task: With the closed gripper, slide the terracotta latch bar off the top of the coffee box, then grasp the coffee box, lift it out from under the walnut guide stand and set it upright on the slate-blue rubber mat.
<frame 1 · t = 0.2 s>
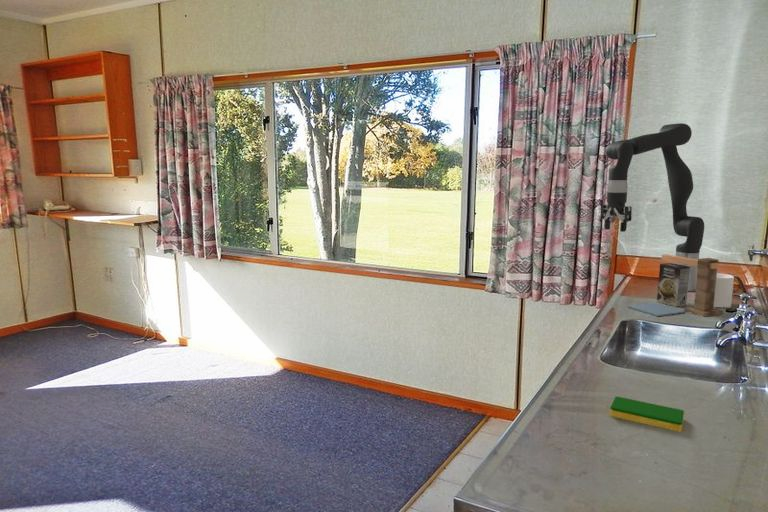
hand: (614, 230, 215), 29 cm above the counter, tool pointing down, fingers open, 8 cm apart
rubber mat: (655, 310, 201), on the counter
coffee box: (671, 304, 210), on the counter
cup: (713, 304, 209), on the counter
guide stand: (671, 303, 210), on the counter
latch bar: (688, 261, 202), point 18 cm above the counter, slide at 0.0 cm
dish sponge: (646, 419, 114), on the counter
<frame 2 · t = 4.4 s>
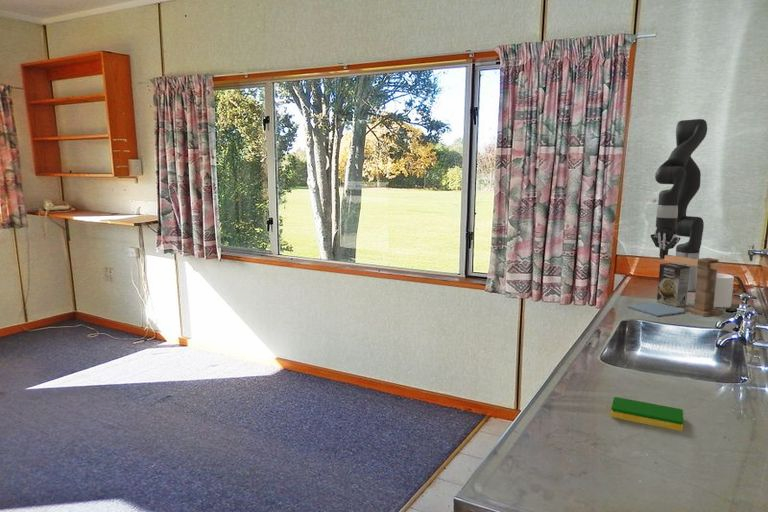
hand: (663, 258, 212), 18 cm above the counter, tool pointing down, fingers closed
latch bar: (691, 261, 200), point 18 cm above the counter, slide at 1.3 cm, touching gripper
everything else where it was.
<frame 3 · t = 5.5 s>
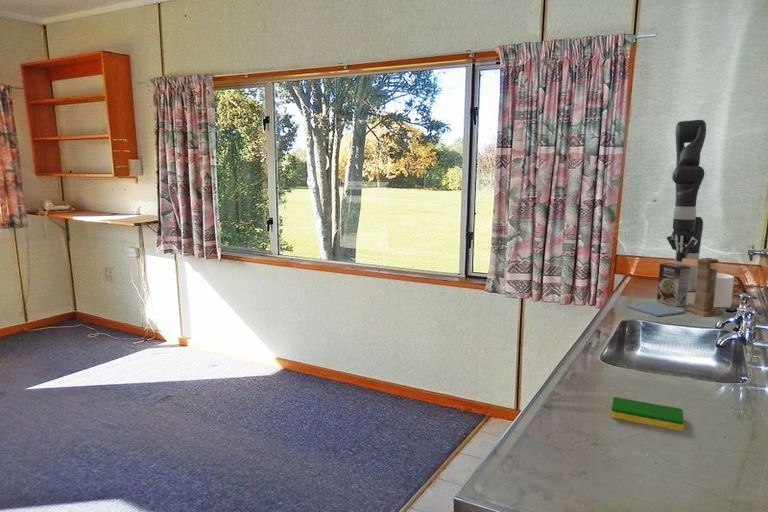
hand: (680, 261, 205), 18 cm above the counter, tool pointing down, fingers closed
latch bar: (710, 265, 193), point 19 cm above the counter, slide at 9.3 cm, touching gripper
everything else where it was.
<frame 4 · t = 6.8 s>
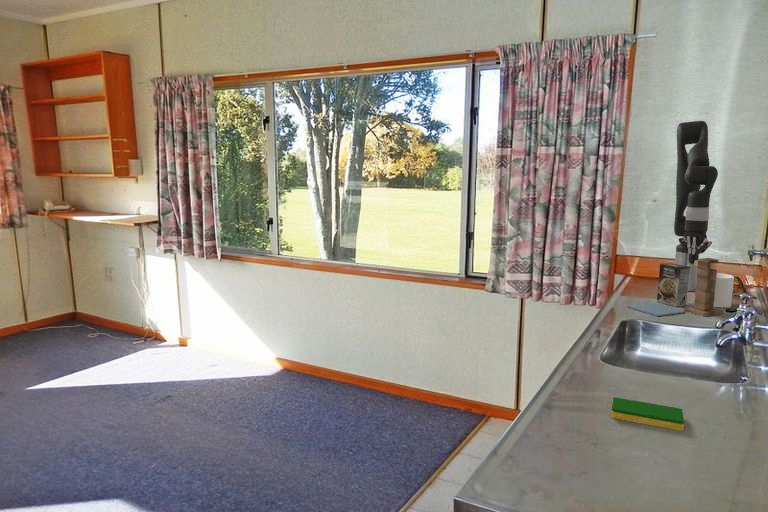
hand: (692, 263, 200), 18 cm above the counter, tool pointing down, fingers closed
latch bar: (724, 267, 188), point 19 cm above the counter, slide at 14.6 cm, touching gripper
everything else where it was.
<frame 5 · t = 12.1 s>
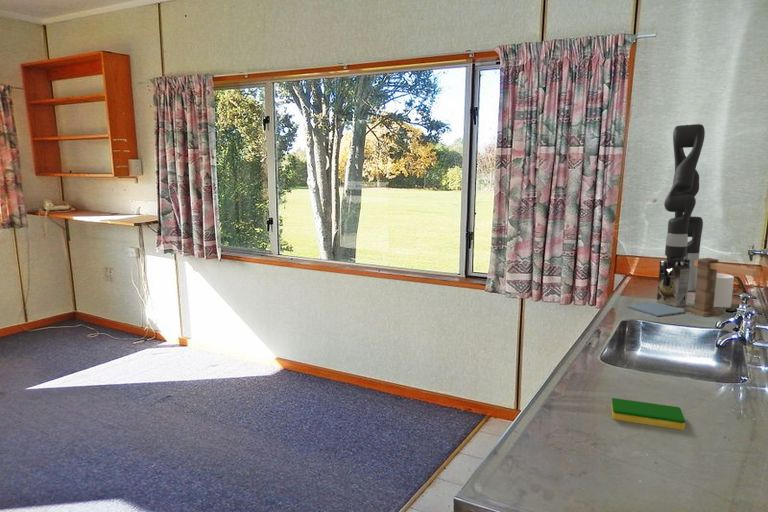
hand: (672, 285, 209), 8 cm above the counter, tool pointing down, fingers closed on coffee box, 6 cm apart
coffee box: (671, 304, 210), on the counter, touching gripper
latch bar: (724, 267, 188), point 19 cm above the counter, slide at 14.7 cm
everything else where it was.
when the fingers open (9 cm above the counter, at t = 19.8 s): coffee box stays where it is, resting on rubber mat.
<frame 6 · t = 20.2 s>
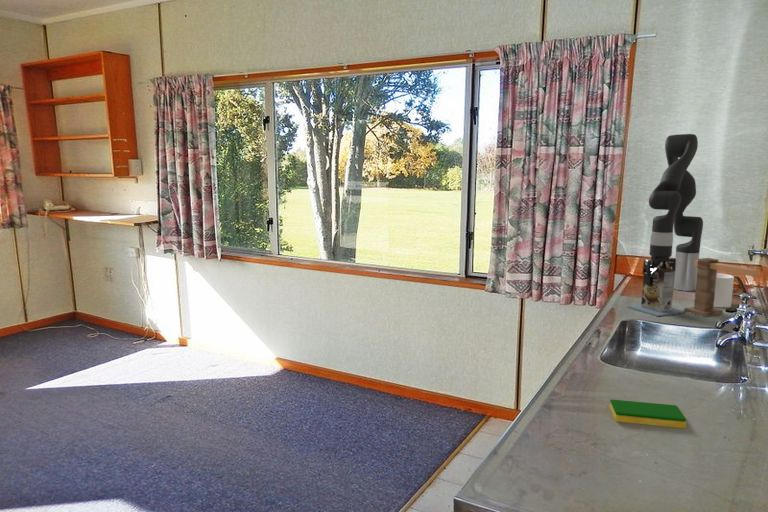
hand: (657, 285, 199), 10 cm above the counter, tool pointing down, fingers open, 8 cm apart
coffee box: (656, 309, 201), resting on rubber mat
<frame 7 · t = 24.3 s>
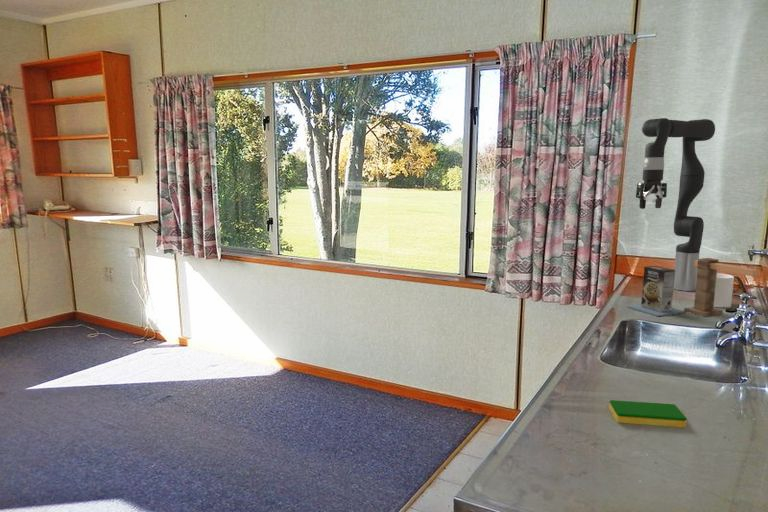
hand: (650, 208, 214), 38 cm above the counter, tool pointing down, fingers open, 8 cm apart
at the end: latch bar slide at 14.7 cm; coffee box inside the target area on the rubber mat (0.1 cm from its centre), point 0.4 cm above the rubber mat's base; coffee box tilted 0° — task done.
